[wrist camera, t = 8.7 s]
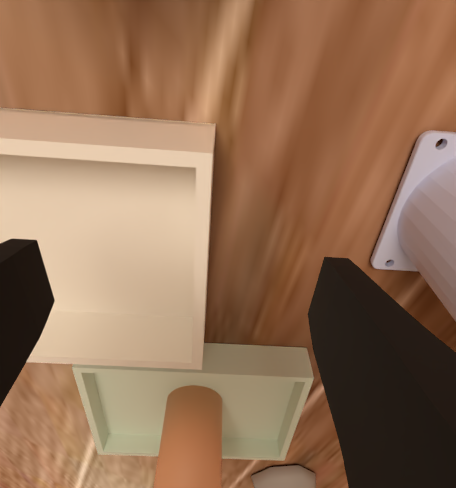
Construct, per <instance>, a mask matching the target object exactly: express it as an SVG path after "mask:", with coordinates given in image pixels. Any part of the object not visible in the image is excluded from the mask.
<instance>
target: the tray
mask: <svg viewBox="0 0 456 488" xmlns="http://www.w3.org/2000/svg"><path fill="white" fill-rule="evenodd" d="M72 369H73V373H74V376H75V379H76V383H77V386H78V389H79V393H80V396H81V399H82V403H83V406H84V409H85V413H86V416H87V419H88V422H89V426H90V429H91V432H92V436H93V439H94V442H95V446H96V449H97V452H98V454H101V455H131V456H158V455H159V448H160V442H161V435H162V429H163V423H164V416H165V410H166V403H167V398H168V395H169V394H170V393H171V392H172V391H173V390H175V389H177V388H180V387H183V386H190V385H197V386H204V387H207V388H210V389H212V390H214V391H216V392H217V393H218V394H219V395H220V396H221V398H222V459H251V460H281V461H284V460H285V457H286V454H287V451H288V449H289V446H290V443H291V440H292V437H293V435H294V432H295V429H296V426H297V424H298V421H299V418H300V415H301V413H302V410H303V407H304V404H305V401H306V399H307V396H308V393H309V390H310V388H311V385H312V382H313V379H314V376H313V372H312V368H311V363H310V359H309V355H308V351H307V348H303V347H282V346H261V345H240V344H219V343H204V349H203V364H202V370H195V369H172V368H150V367H127V366H104V365H82V364H73V366H72Z"/></svg>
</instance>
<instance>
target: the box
mask: <svg viewBox="0 0 456 488" xmlns="http://www.w3.org/2000/svg"><path fill="white" fill-rule="evenodd" d="M215 131H216V124H212V123H199V122H186V121H173V120H159V119H146V118H133V117H119V116H106V115H93V114H79V113H66V112H53V111H40V110H26V109H13V108H0V243H2V242H5V241H7V240H9V239H29V240H37V242H38V245H39V249H40V252H41V256H42V259H43V262H44V266H45V269H46V273H47V276H48V279H49V283H50V286H51V289H52V293H53V296H54V300H55V302H54V304H53V307H52V309H51V312H50V315H49V317H48V320H47V322H46V325H45V327H44V329H43V332H42V334H41V336H40V338H39V340H38V342H37V344H36V345H35V347H34V349H33V351H32V353H31V354H30V356H29V358H28V360H27V361H26V362H37V363H59V364H82V365H104V366H127V367H150V368H172V369H195V370H202V364H203V349H204V335H205V321H206V303H207V284H208V265H209V246H210V227H211V207H212V188H213V169H214V150H215Z"/></svg>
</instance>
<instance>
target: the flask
mask: <svg viewBox="0 0 456 488" xmlns="http://www.w3.org/2000/svg"><path fill="white" fill-rule="evenodd" d="M251 478H252V481H253V484H254V488H316V474H315V473H313V472H311V471H309V470H307V469H305V468H303V467H301V466H299V465H293V466H280V467H270V468H268V469H266V470H263V471H261V472H259V473H257V474H254V475H252V476H251Z"/></svg>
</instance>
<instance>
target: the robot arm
mask: <svg viewBox="0 0 456 488" xmlns="http://www.w3.org/2000/svg"><path fill="white" fill-rule="evenodd" d="M440 139H443V142H442V143H441V145H439V146H438V147H435V146H436V143H437V141H439V140H440ZM388 260H391V261H390V262H388V263H386V261H388ZM370 262H371V264H372V266H373V267H374V268H376V269H385V270H402V271H419V272H420V274H421V275H422V277H423V278H424V279H425V281H426V282H427V283H428V285H429V286H430V287H431V289H432V290H433V291H434V293H435V294H436V296H437V297H438V298H439V300H440V301H441V302H442V304H443V305H444V306H445V308H446V309H447V310H448V312H449V313H450V315H451V316H452V317H453V319H454V320H455V321H456V132H446V131H433V130H431V131H426V132H424V133H422V134H421V135H420V136H419V138H418V139H417V142H416V144H415V147H414V149H413V152H412V154H411V157H410V159H409V162H408V165H407V167H406V170H405V172H404V175H403V177H402V180H401V183H400V185H399V188H398V190H397V193H396V195H395V198H394V201H393V203H392V206H391V208H390V211H389V213H388V216H387V218H386V221H385V224H384V226H383V229H382V231H381V234H380V236H379V239H378V242H377V244H376V247H375V249H374V252H373V254H372V257H371V261H370ZM54 302H55V300H54V296H53V293H52V289H51V286H50V283H49V279H48V276H47V273H46V269H45V266H44V262H43V259H42V256H41V252H40V249H39V245H38V242H37V240H29V239H9V240H7V241H5V242H2V243H0V406H1V405H2V403H3V401H4V399H5V398H6V396H7V394H8V392H9V391H10V389H11V387H12V386H13V384H14V382H15V380H16V379H17V377H18V375H19V373H20V372H21V370H22V368H23V367H24V365H25V363H26V361H27V360H28V358H29V356H30V354H31V353H32V351H33V349H34V347H35V345H36V344H37V342H38V340H39V338H40V336H41V334H42V332H43V329H44V327H45V325H46V322H47V320H48V317H49V315H50V312H51V309H52V307H53V304H54ZM308 318H309V325H310V333H311V339H312V345H313V350H314V354H315V358H316V361H317V365H318V368H319V372H320V376H321V379H322V383H323V386H324V390H325V393H326V396H327V400H328V403H329V407H330V410H331V414H332V417H333V421H334V424H335V428H336V431H337V435H338V438H339V443H340V447H341V451H342V455H343V459H344V465H345V470H346V475H347V480H348V486H349V488H456V353H455V352H454V351H453V350H452V349H450V348H449V347H448V346H447V345H446V344H444V343H443V342H442V341H441V340H439V339H438V338H437V337H436V336H435V335H433V334H432V333H431V332H430V331H429V330H427V329H426V328H425V327H424V326H423V325H422V324H420V323H419V322H418V321H417V320H416V319H415V318H413V317H412V316H411V315H410V314H409V313H408V312H407V311H406V310H404V309H403V308H402V307H401V306H400V305H399V304H398V303H397V302H396V301H394V300H393V299H392V298H391V297H390V296H389V295H388V294H387V293H386V292H385V291H384V290H382V289H381V288H380V287H379V286H378V285H377V284H376V283H375V282H374V281H373V280H372V279H371V278H370V277H368V276H367V275H366V274H365V273H364V272H363V271H362V270H361V269H360V268H359V267H358V266H356V265H355V264H354V263H353V262H352V261H351V260H349V259H348V258H332V257H324V261H323V264H322V267H321V271H320V274H319V278H318V281H317V284H316V288H315V291H314V295H313V298H312V302H311V305H310V308H309V312H308Z"/></svg>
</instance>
